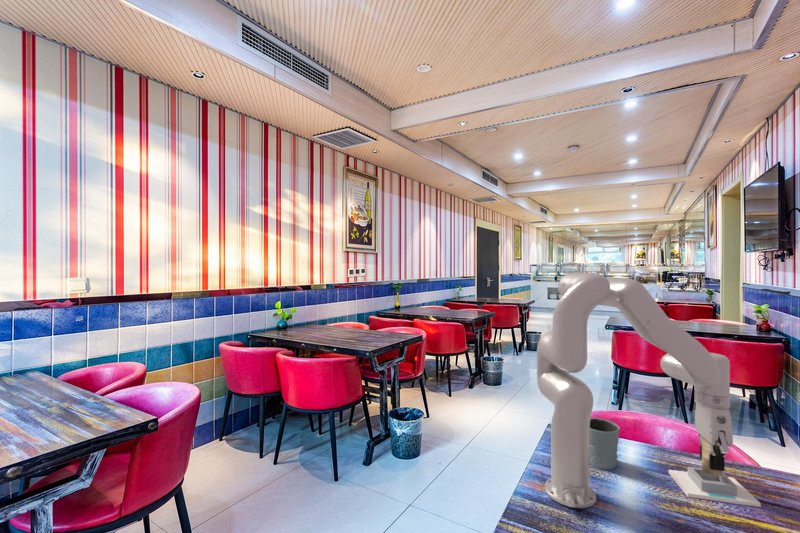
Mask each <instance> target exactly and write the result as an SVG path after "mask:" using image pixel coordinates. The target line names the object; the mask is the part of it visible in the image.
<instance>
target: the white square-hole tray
mask: <svg viewBox="0 0 800 533" xmlns="http://www.w3.org/2000/svg"><path fill="white" fill-rule="evenodd" d="M668 474H669V476H670V477H671V478H672V479H673V480H674V482H675V483H676V484H677V486H679V488H680V490H681V491H683V493H684V494H685V495H686V497H687V498H692V499H699V500H707V501H715V502H723V503H727V504H735V505H741V506H742V505H743V506H749V507H757V508H762V503H761V502H760V501H759V500H758V499H757V498H755V496H754V495H753V494H752V493H750V492H749V491H748V490H747V489H746V488H745V487H744V486H743V485H742V484H741V483H739V482H740V481H737V479H735V478H734V477H733V476H732V477H731V476H727V475H726V474H725V472H723V475H721V476H715V475H711V474H708V473H706V472H704V471H703V470H702V467H694V466H687V471H684V470H676V469H675V470H674V469H668Z"/></svg>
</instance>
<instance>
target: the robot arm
mask: <svg viewBox="0 0 800 533" xmlns="http://www.w3.org/2000/svg"><path fill="white" fill-rule="evenodd" d="M557 288H558V292H559V294H560V296H561V297H560V298H559V300H558V301H557V303H556V306H555V307H554V310H553V316H552V330H550V331H548V332H545V333H544V334H542V335H541V338H540V339H539V341H538V343H537V347H536V375H537V376H536V378H537V380H536V381H537V387H538V390H539V392H540V394H542V396H543V397H544V398H546V399H547V400H548V401H549V402H551V404H552V405H554V411H553V414H552V417H551V421H550V478H548V479H547V480H545V483H544V491H545V493H546V494H547V495H548V497H549V498H550V499H552V500H553V501H555V502H557V503H558V504H561V505H563V506H566V507H569V508H575V509H586V508H590V507H592V506H594V505H595V504H596V502H597V495H596V492H595V490H594V489H593V488H592V487H591V484H590V483H591V482H590V481H591V479H590V478H591V477H590V476H591V475H590V474H591V473H590V472H591V471H590V470H591V469H590V466H591V465H590V418H592V412H593V409H594V408H593V407H594V395H593V393H592V391H591V389H590V387H589V386H588V385H587V384H586V383H585V382H584V381H583V380H581V379H580V378H578V377H577V376H575V375H572V373H573V374H575V373H580V372H581V371H583V370H584V369H585V367H586V366H587V362H588V322H589V321H588V320H589V317H590V315H591V314H592V312H593V311H594V310H595V308H597V306H603V307H612V308H617V309H618V310H619V311H620V313H621V314H622V316H624V317H625V319H626V320H627V322H628V323H629V324H630V325H631V326H632V328H633V329H634V332H636V334H638V336H640V338H642V339H644V340H645V341H646V342H648V343H649V344H651V345H653V346H655V347H657V348H658V349H660V350H662V351H663V352H665V353H666V354H664V355H663V356H662V357H661V358H660V362H659V363H660V368H661V369H662V371H663V372H664V373H665V374H666V375H667V376H669V377H671V378H673V379H676V380H679V381H682V382H684V383H687V384H689V385H692V386H694V393H693V394H694V403H695V411H694V429H695V430H696V431H695V432H696V433H698V436H699V440H698V442H699V459H700V460H701V461H702V439H706V440H707V441H708V442H709V443H710V447H711V454H709V467H710V469H711V470H719V471H723V472H725V468H726V466H725V460H726V459H725V457H726V454H728V453H729V452H730V450H729V448H731V447H733V446H734V437H733V435H734V434H733V432H734V431H733V423H732V417H731V416H732V415H731V412H730V408H731V401H730V400H731V392H730V391H731V387H730V384H731V380H730V379H731V378H730V377H731V374H730V373H731V372H730V370H731V365H730V362H731V361H730V359H729V358H728V357H727V356H726V355H723V354H720V353H715V352H709V351H708V350H707V348H706V347H705V346H704V345H703V344H702V343H701V342H700V341H699V340H697V339H696V338H695V337H693V336H692V335H691V334H689V333H688V332H687V331H686V330H684V329H683V328H682V327H680V326H679V325H678V324H676V323H675V322H673V321H672V320H671V319H670V318H669V316H668V315H667V314H666V313H665V311H664V310H663V309H662V308H661V306H660V305H659V304H658V303H657V301H656V299H655V298H654V297H653V296H652V295H651V294H650V292H649V291H648V290H647V288H646V287H645V286H644V285H643V284H642V282H640V281H638V280H636V279H632V278H626V277H625V278H623V277H606V276H605V275H602V274H600V273H595V272H576V271H575V272H569V273H566V274H564V275H563V276H562V277H561V278H560V279H559V281H558V285H557ZM715 441H718V442H719V443H715ZM715 446H719V447H720V448H717V449H716V450H715Z"/></svg>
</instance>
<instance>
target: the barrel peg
mask: <svg viewBox="0 0 800 533" xmlns="http://www.w3.org/2000/svg"><path fill="white" fill-rule="evenodd" d="M715 443H719V442H718V441H715ZM717 448H720V447H719V446H715V450H716V449H717ZM709 454H711V447H710V443H709V442H708V441H707V440H706V439H702V460H701V468H702V470H703V471H704V472H706V473H708V474H711V475H715V476H721V475H723V473H724V471H719V470H711V469H710V467H709Z"/></svg>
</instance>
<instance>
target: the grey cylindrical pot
mask: <svg viewBox="0 0 800 533" xmlns="http://www.w3.org/2000/svg"><path fill="white" fill-rule="evenodd" d="M619 437H620V426H619V425H618V424H617V423H615V422H614V421H611V420H608V419H603V418H598V417H591V418H590V466H592V467H593V468H596V469H600V470H605V471H606V470H607V471H608V470H614V469H616V467H617V461H618V454H617V453H618V445H619V440H620V439H619Z"/></svg>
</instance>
